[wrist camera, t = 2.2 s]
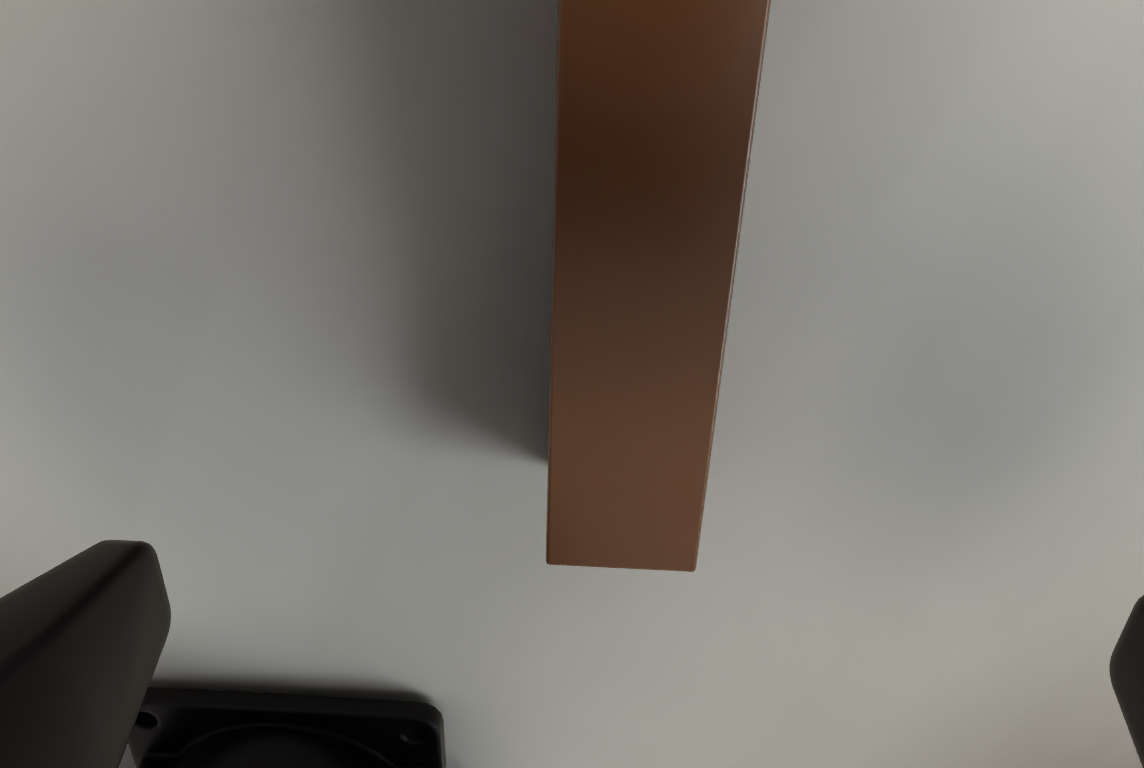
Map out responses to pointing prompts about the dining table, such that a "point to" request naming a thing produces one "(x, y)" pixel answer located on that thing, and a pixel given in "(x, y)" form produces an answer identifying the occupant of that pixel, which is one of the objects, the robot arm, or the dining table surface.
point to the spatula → (644, 267)
